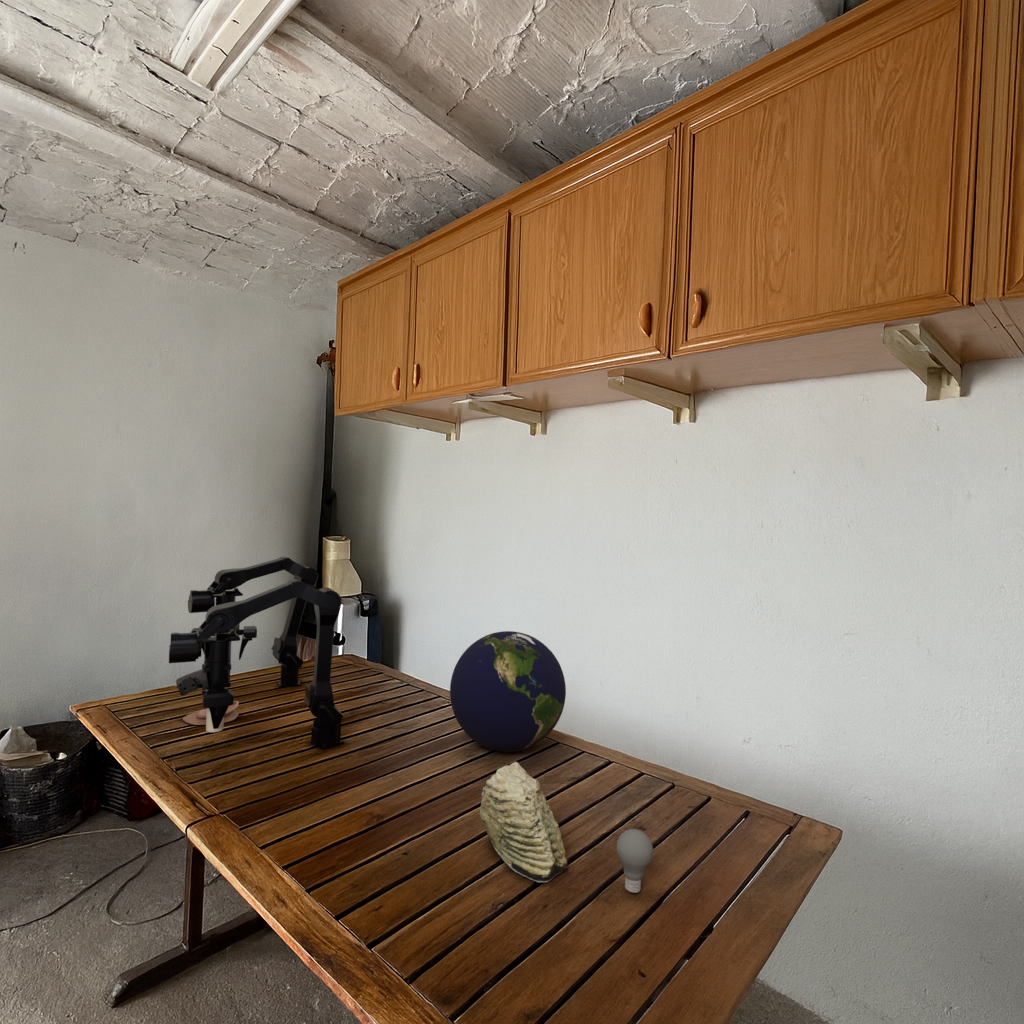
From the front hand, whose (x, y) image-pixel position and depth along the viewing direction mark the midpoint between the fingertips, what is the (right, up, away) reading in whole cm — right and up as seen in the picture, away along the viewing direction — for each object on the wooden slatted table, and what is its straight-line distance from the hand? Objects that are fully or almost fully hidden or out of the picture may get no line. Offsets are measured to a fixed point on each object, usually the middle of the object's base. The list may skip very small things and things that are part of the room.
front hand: (215, 725), depth 150 cm
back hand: (-20, +4, +48) cm, 52 cm away
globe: (+69, -11, +14) cm, 71 cm away
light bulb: (+90, -13, -44) cm, 102 cm away
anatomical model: (-13, -7, +26) cm, 30 cm away
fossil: (+72, -12, -35) cm, 81 cm away
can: (0, -1, 0) cm, 1 cm away
